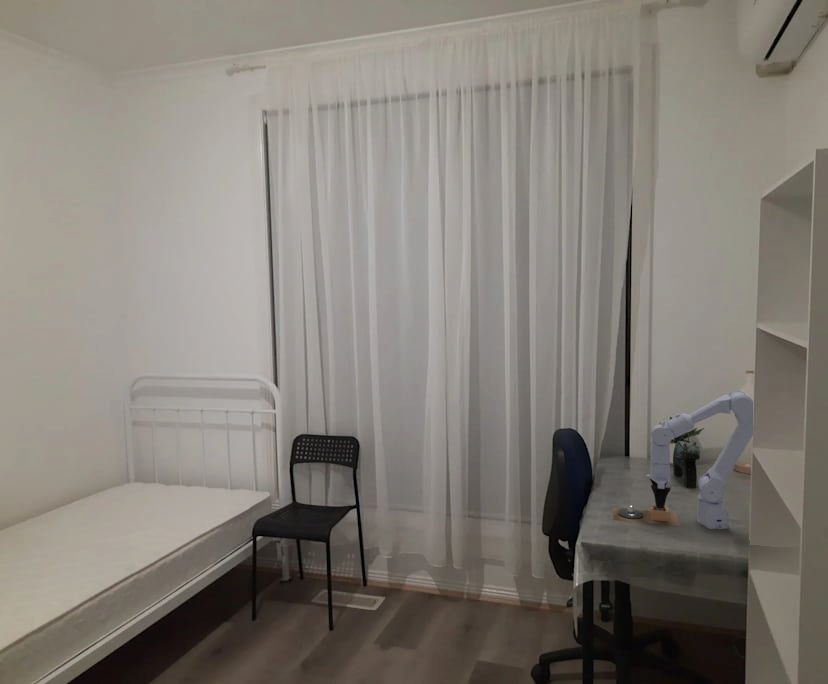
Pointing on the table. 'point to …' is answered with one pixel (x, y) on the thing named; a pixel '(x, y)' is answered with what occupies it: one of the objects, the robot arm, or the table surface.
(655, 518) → the collar
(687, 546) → the table surface
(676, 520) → the walnut board
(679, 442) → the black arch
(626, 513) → the hub
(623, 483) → the table surface
